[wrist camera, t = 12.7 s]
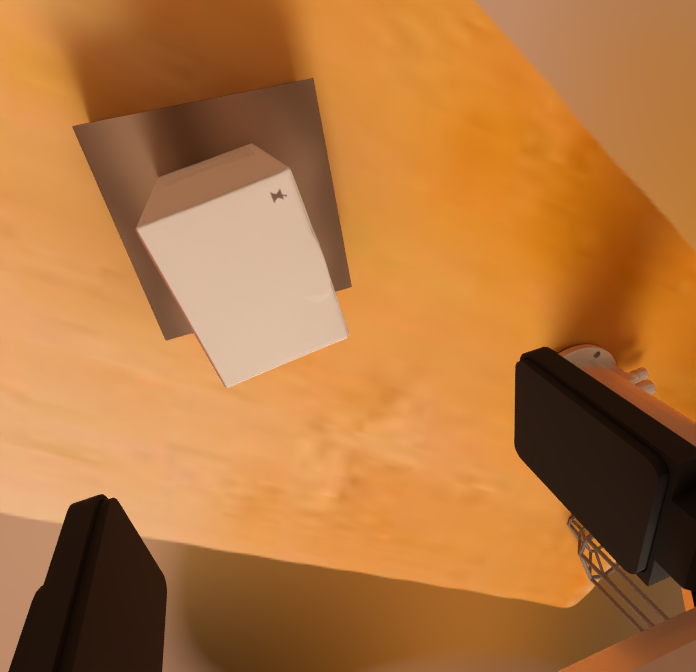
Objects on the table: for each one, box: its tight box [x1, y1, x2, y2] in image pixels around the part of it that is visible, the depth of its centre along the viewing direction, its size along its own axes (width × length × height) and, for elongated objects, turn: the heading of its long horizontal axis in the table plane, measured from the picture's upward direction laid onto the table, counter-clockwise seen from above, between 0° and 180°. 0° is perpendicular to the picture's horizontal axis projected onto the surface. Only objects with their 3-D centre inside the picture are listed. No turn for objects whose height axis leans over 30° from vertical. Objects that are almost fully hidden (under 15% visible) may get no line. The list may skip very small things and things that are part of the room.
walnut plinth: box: [72, 78, 352, 340], centre depth 32 cm, size 14×14×5 cm
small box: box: [136, 143, 349, 388], centre depth 24 cm, size 8×6×13 cm
